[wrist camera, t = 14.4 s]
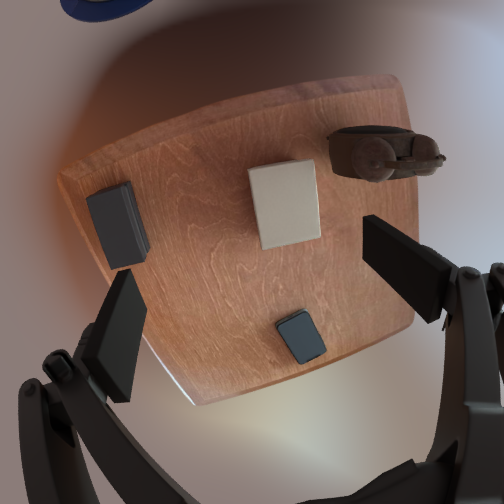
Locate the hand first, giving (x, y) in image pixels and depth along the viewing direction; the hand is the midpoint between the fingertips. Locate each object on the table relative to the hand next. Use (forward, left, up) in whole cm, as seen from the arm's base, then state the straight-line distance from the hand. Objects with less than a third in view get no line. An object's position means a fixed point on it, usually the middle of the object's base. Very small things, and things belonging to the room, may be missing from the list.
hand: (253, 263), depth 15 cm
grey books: (+12, -13, -32) cm, 36 cm away
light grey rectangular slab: (+1, +11, -29) cm, 31 cm away
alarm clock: (-12, +19, -32) cm, 39 cm away
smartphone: (+28, +28, -32) cm, 51 cm away
